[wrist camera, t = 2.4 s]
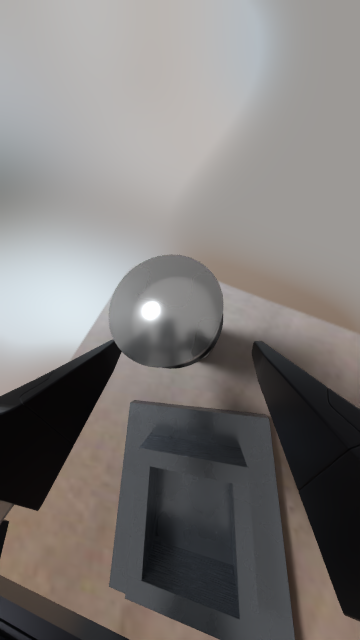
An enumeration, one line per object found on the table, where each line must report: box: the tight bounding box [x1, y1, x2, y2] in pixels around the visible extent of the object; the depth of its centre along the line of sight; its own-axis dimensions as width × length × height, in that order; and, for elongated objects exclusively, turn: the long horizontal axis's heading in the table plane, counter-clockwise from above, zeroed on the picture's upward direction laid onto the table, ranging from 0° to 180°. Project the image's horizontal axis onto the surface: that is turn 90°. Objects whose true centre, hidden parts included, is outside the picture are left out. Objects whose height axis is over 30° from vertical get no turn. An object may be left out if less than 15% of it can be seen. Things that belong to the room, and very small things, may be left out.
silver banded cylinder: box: [109, 255, 223, 369], centre depth 12 cm, size 5×5×13 cm
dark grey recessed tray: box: [109, 400, 295, 640], centre depth 12 cm, size 15×15×4 cm
